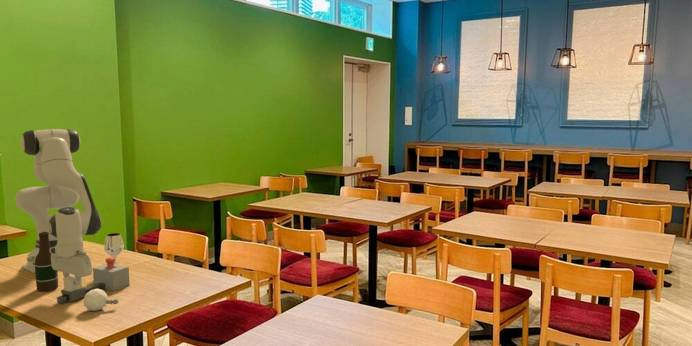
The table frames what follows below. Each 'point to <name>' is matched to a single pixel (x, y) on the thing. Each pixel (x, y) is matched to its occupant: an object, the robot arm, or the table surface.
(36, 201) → the robot arm
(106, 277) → the grey holed block
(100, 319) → the table surface
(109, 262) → the plunger
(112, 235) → the wineglass
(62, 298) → the rail
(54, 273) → the beer bottle
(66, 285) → the cream box
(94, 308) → the perfume bottle
